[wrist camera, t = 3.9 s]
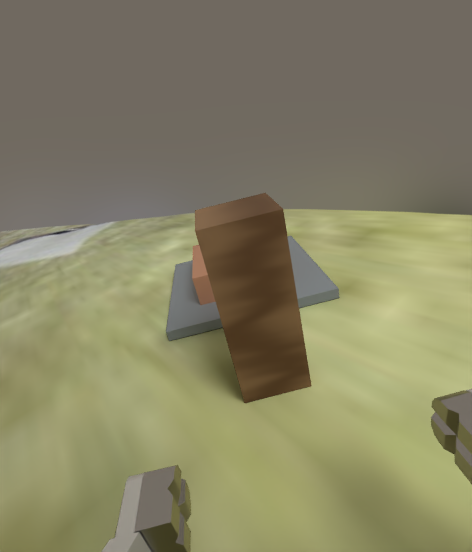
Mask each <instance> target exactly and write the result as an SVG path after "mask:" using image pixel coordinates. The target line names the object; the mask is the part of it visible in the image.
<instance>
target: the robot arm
mask: <svg viewBox="0 0 472 552" xmlns="http://www.w3.org/2000/svg"><path fill="white" fill-rule="evenodd" d="M432 408H433V409H434V411H435V413H434V414H433V416H432V417H431V426H432V429H433V432H434V435H435V436H436V438H437V440H438V442H439V443H440V444H441V446H442V447H443V448H444V449H445V450H447V451H449V452H451V453H452V454H454V456H455V464H456V465H457V466H458V467H459V469H460V470H461V471H462V473H463V474H464V475H465V476H466V478H467V479H468V480H469V481H470V483H471V484H472V389H469V390H466V391H464V390H463V391H460V392H456V393H452V394H449V395H445V396H442V397H438V398H434V400H433V401H432ZM190 515H191V500H190V492H189V488H188V485H187V483H186V480H183V479H181V470H180V468H179V466H178V465H175V466H171V467H167V468H163V469H158V470H154V471H150V472H145V473H141V474H137V475H133V476H129V477H128V479H127V481H126V484H125V489H124V494H123V499H122V504H121V509H120V514H119V519H118V524H117V529H116V534H115V538H112V539H110V540H109V541H108V543H107V544H106V546H105V547H104V549H103V550H102V552H190V542H191V531H190V529H189V527H188V525H187V523H186V522H187V521H188V519H189V517H190Z"/></svg>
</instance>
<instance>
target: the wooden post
mask: <svg viewBox="0 0 472 552" xmlns="http://www.w3.org/2000/svg"><path fill="white" fill-rule="evenodd" d="M195 232H196V235H197V239H198V242H199V246H200V249H201V253H202V256H203V260H204V263H205V267H206V270H207V274H208V277H209V281H210V284H211V287H212V291H213V294H214V298H215V301H216V305H217V308H218V312H219V315H220V319H221V322H222V326H223V329H224V333H225V336H226V340H227V343H228V346H229V350H230V353H231V357H232V360H233V364H234V367H235V371H236V374H237V378H238V381H239V385H240V388H241V392H242V395H243V399H244V402H245V403H247V402H251V401H255V400H259V399H263V398H267V397H271V396H275V395H279V394H282V393H286V392H290V391H294V390H298V389H302V388H306V387H310V386H311V380H310V374H309V368H308V362H307V355H306V349H305V343H304V337H303V330H302V324H301V318H300V312H299V305H298V299H297V293H296V287H295V281H294V274H293V268H292V262H291V256H290V249H289V243H288V237H287V231H286V224H285V218H284V212H283V208H281V207H280V206H279V205H278V204H277V203H276V202H275V201H274V200H273V199H272V198H270V197H269V196H268V195H267V194H266V193H263V194H259V195H255V196H251V197H247V198H243V199H239V200H235V201H231V202H227V203H223V204H219V205H215V206H211V207H207V208H203V209H199V210H195Z"/></svg>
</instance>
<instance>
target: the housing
mask: <svg viewBox="0 0 472 552" xmlns="http://www.w3.org/2000/svg"><path fill="white" fill-rule="evenodd" d="M288 243H289V249H290V256H291V262H292V268H293V274H294V281H295V287H296V293H297V299H298V305H299V308H301V307H305V306H309V305H313V304H317V303H321V302H325V301H329V300H332V299H336V298H339V289H338V287H337V286H336V285H335V284H334V283H333V282H332V281H331V280H330V278H329V277H328V276H327V275H326V274H325V273H324V272H323V271H322V270H321V268H320V267H319V266H318V265H317V264H316V263H315V262H314V261H313V260H312V258H311V257H310V256H309V255H308V254H307V253H306V252H305V251H304V250H303V249H302V247H301V246H300V245H299V244H298V243H297V242H296V241H295V240H294V239H293V237H292V236H288ZM222 327H223V326H222V322H221V319H220V315H219V312H218V308H217V305H216V301H215V298H214V294H213V291H212V287H211V284H210V281H209V277H208V274H207V270H206V267H205V263H204V260H203V256H202V253H201V249H200V246H199V245H196V246H193V260H192V261H188V262H184V263H180V264H176V266H175V273H174V280H173V287H172V294H171V301H170V308H169V315H168V321H167V328H166V333H167V336H168V339H169V341H171V340H175V339H179V338H183V337H187V336H191V335H195V334H199V333H203V332H206V331H210V330H214V329H218V328H222Z"/></svg>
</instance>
